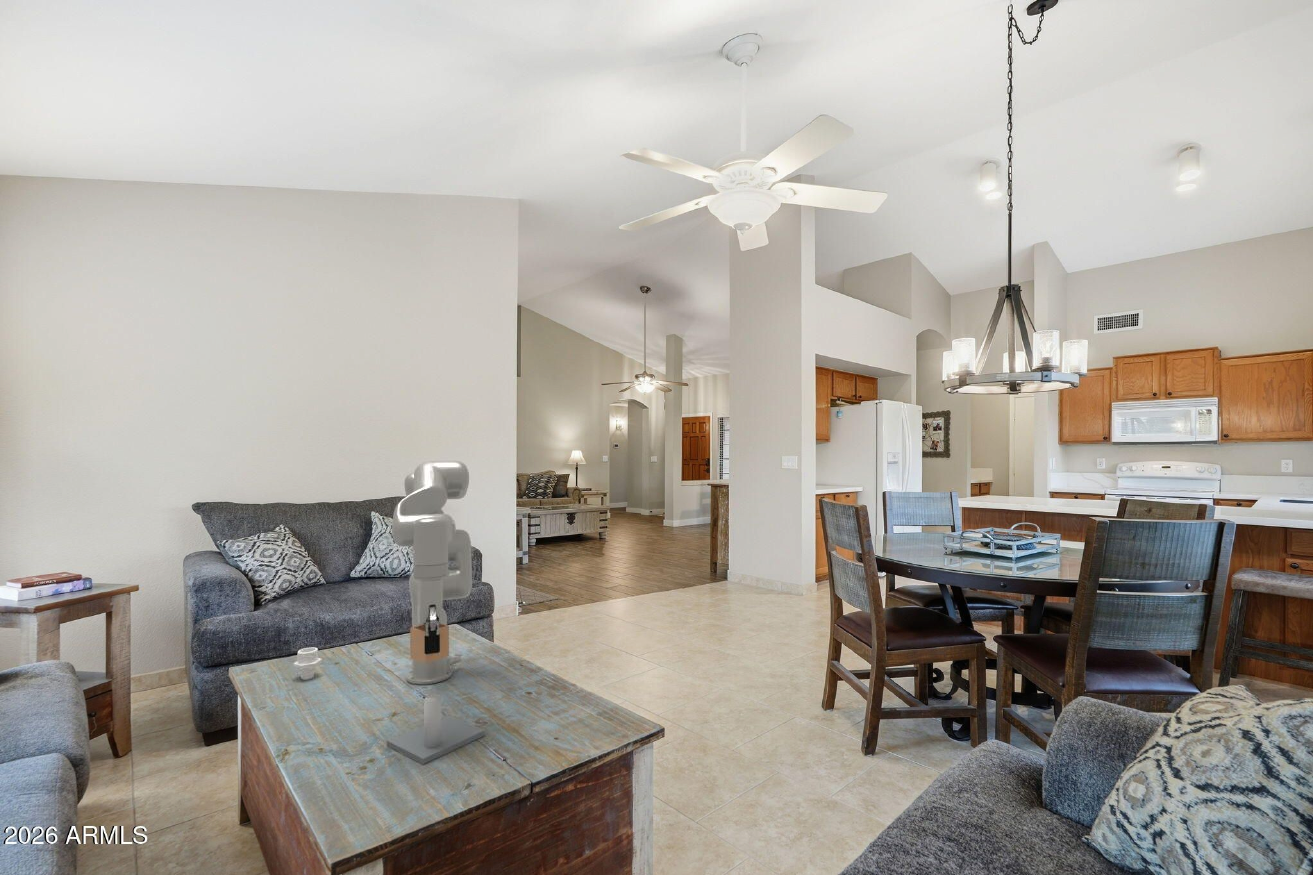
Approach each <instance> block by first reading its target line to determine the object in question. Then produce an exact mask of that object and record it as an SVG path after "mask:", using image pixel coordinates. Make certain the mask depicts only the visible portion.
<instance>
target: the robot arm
mask: <svg viewBox="0 0 1313 875" xmlns="http://www.w3.org/2000/svg"><path fill="white" fill-rule="evenodd" d="M403 484H404V491H405V497H404V498H403V499H401V500H400V501H399V502H398V504H396V506H395V508H394V510H393V515H392V516H393V517H392V525H391V526H392V527H391V535H392V539H393V542H394V543H395V544H396V545H397V546H399V547H402V548H403V547H404V548H406V547H413V570H412V571H413V572H412V573H411V575H410V576H409V580H408V588H409V596H410V603H411V618H412V620H411V622H412V623H411V625H412V626H411V627H415V626H419V625H423V624H425V626H426V636H424V652H425V654H433V653H439V652H440V634H439V623H441V624H444V625H448V623H447V622H448V615H447V612H446V610H445V609H444V608H443V605H444V604H443V601H447V600H458V599H465V598H467V597H469V596H470V594H471V593H472V588H473V587H472V586H473V569H472V568H473V567H472V564H473V563H472V562H473V561H472V544H471V543H472V542H471V537H470V535H469V533H468V531H467V530H465V529H456V527H457V526H456V522H455V520H454V519H453V517H452V516H451V515H449V514H446V513H445V512H444V511H443V509H442V508H444V506H445V505H446V504H447V502H448V500H459V499H460V500H461V499H463V498H464V497H466V495H467V493H468V489H469V484H470V473H469V469H468V467H467V465H466V464H465V463H463V461H458V460H457V461H456V460H450V461H449V460H445V461H441V460H439V461H435V460H434V461H425V462H422V463H420V464H418V465H417V467H416V468H415V470H414V472H411V473H409V474H407V475H406V477H405V478H404V483H403ZM449 563H454V564H455V565H456V566H455V565H454V566H449ZM428 626H429V627H428ZM428 630H429V631H428ZM411 660H412V664H411V665H412V667H411V668H412V670H411V671H409V672H408V673H407V675H406V681H407V683H409V684H413V685H431V684H435V683H437V684H438V683H440V682H444V681H447V680H448V679H449V678H451V677H452V675H453V669H452V666H453V664H458V663H461V661H462V657H461V656H460V655H457V656H454V657H452V656H451V655H449V656H448V657H445V658H442V659H439V660H436V661H433V662H430V663H427V664H425V663H422V662H419V661H416V660H413V659H411Z"/></svg>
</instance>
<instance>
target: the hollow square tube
mask: <svg viewBox="0 0 1313 875" xmlns="http://www.w3.org/2000/svg"><path fill="white" fill-rule="evenodd" d="M428 627H429V626H428ZM428 631H429V630H428ZM439 634H440V652H439V653H433V654H425V652H424V636H426V626H425V624H423V625H419V626H415V627H412V626H411V627H410V628H409V636H410V638H409V641H410V642H409V649H410V650H409V652H410V653H409V654H410V655H409V656H410V658H409V659H410V660H412V659H413V660H416V661H419V662H422V663H425V664H427V663H430V662H433V661H436V660H439V659H442V658H445V657H449V656H450V625H448V624H447V625H444V624H441V623H439Z"/></svg>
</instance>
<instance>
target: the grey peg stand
mask: <svg viewBox="0 0 1313 875" xmlns="http://www.w3.org/2000/svg"><path fill="white" fill-rule="evenodd" d="M485 730H486V729H484V728H481V727H478V726H477V725H473V724H471V723H469V722H466V721H464V720H461V719H460V718H457V717H456V716H455V717H454V716H452V715H449V714H446V715H445V716H443V717H442V696H441V695H439V694H435V695H428V696H426V697H424V699H423V724H422V725H421V726H418V727H416V728H413V729H410V730H408V731H405V732H404V733H401V734H399V735H397V736H394V737H391V738H389V739H387V740H386V747H388V748H390V749H392V750H394V751H396V752H398V753H400V754H402V755H404V756H406V757H408V758H410V759H411V760H413V761H415V762H417V763H419V764H421V765H425V764H428V763H429V762H431V761H433V760H435V759H437V758H439V757H442V756H444V755H446V754H448V753H450V752H452V751H454V750H457V749H458V748H461V747H463V746H465V745H467V744H470V743H472V742H474V741H476V740H478V739H480V738H482V737H484V736H485V735H486V731H485Z"/></svg>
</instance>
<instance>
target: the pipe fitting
mask: <svg viewBox="0 0 1313 875" xmlns="http://www.w3.org/2000/svg"><path fill="white" fill-rule="evenodd" d="M318 654H319V648H317V647H314V646H313V647H311V646H310V647H305V648H300V649H299V650H298V651H297V659H296V660H297V661H295V662H293V668H296V669H300V671H301V673H300V677H301V680H304V681H306V680H311V679H313V678H314V677H315V667H317V666H318V665H321V663H322V660H323V659H322V658H320V657H318V656H319V655H318Z"/></svg>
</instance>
